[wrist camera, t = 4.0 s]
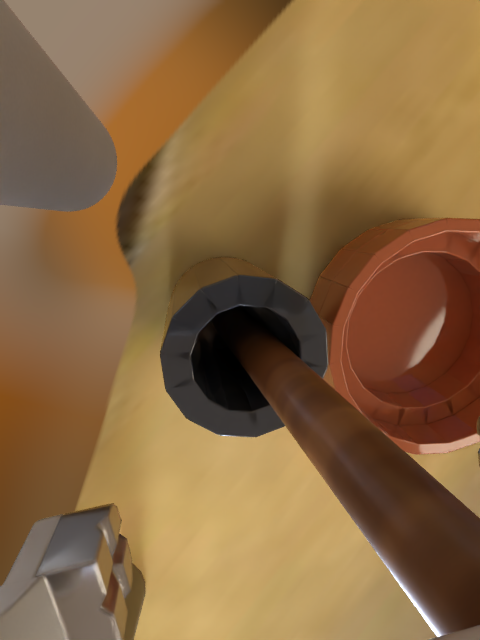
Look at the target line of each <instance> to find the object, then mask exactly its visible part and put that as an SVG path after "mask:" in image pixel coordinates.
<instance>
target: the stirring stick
mask: <svg viewBox="0 0 480 640" xmlns="http://www.w3.org/2000/svg"><path fill="white" fill-rule="evenodd" d="M212 322H213V325H214V327H215V329H216V330H217V331H218V333H219V334H220V336H221V337H222V338H223V340H224V341H225V343H226V344H227V345H228V347H229V348H230V350H231V351H232V352H233V354H234V355H235V356H236V358H237V359H238V361H239V362H240V363H241V365H242V366H243V368H244V369H245V370H246V372H247V373H248V375H249V376H250V377H251V379H252V380H253V381H254V383H255V384H256V386H257V387H258V388H259V390H260V391H261V393H262V394H263V395H264V397H265V398H266V400H267V401H268V402H269V404H270V405H271V407H272V408H273V409H274V411H275V412H276V413H277V415H278V416H279V418H280V419H281V420H282V422H283V423H284V425H285V426H286V427H287V429H288V430H289V432H290V433H291V434H292V436H293V437H294V438H295V440H296V441H297V443H298V444H299V445H300V447H301V448H302V450H303V451H304V452H305V454H306V455H307V457H308V458H309V459H310V461H311V462H312V463H313V465H314V466H315V468H316V469H317V470H318V472H319V473H320V475H321V476H322V477H323V479H324V480H325V482H326V483H327V484H328V486H329V487H330V489H331V490H332V491H333V493H334V494H335V495H336V497H337V498H338V500H339V501H340V502H341V504H342V505H343V507H344V508H345V509H346V511H347V512H348V514H349V515H350V516H351V518H352V519H353V520H354V522H355V523H356V525H357V526H358V527H359V529H360V530H361V532H362V533H363V534H364V536H365V537H366V539H367V540H368V541H369V543H370V544H371V545H372V547H373V548H374V550H375V551H376V552H377V554H378V555H379V557H380V558H381V559H382V561H383V562H384V564H385V565H386V566H387V568H388V569H389V571H390V572H391V573H392V575H393V576H394V577H395V579H396V580H397V582H398V583H399V584H400V586H401V587H402V589H403V590H404V591H405V593H406V594H407V596H408V597H409V598H410V600H411V601H412V602H413V604H414V605H415V607H416V608H417V609H418V611H419V612H420V614H421V615H422V616H423V618H424V619H425V621H426V622H427V623H428V625H429V626H430V628H431V629H432V630H433V632H434V633H435V634H436V636H437V637H439V636H443V635H446V634H450V633H453V632H457V631H460V630H464V629H467V628H471V627H474V626H477V625H480V518H479V517H478V516H476V515H475V514H474V513H473V512H472V511H471V510H470V509H469V508H467V507H466V506H465V505H464V504H463V503H462V502H461V501H460V500H458V499H457V498H456V497H455V496H454V495H453V494H452V493H451V492H449V491H448V490H447V489H446V488H445V487H444V486H443V485H442V484H440V483H439V482H438V481H437V480H436V479H435V478H434V477H433V476H431V475H430V474H429V473H428V472H427V471H426V470H425V469H424V468H422V467H421V466H420V465H419V464H418V463H417V462H416V461H415V460H413V459H412V458H411V457H410V456H409V455H408V454H407V453H406V452H404V451H403V450H402V449H401V448H400V447H399V446H398V445H397V444H395V443H394V442H393V441H392V440H391V439H390V438H389V437H388V436H386V435H385V434H384V433H383V432H382V431H381V430H380V429H379V428H377V427H376V426H375V425H374V424H373V423H372V422H371V421H370V420H368V419H367V418H366V417H365V416H364V415H363V414H362V413H361V412H359V411H358V410H357V409H356V408H355V407H354V406H353V405H352V404H350V403H349V402H348V401H347V400H346V399H345V398H344V397H343V396H341V395H340V394H339V393H338V392H337V391H336V390H335V389H334V388H332V387H331V386H330V385H329V384H328V383H327V382H326V381H325V380H323V379H322V378H321V377H320V376H319V375H318V374H317V373H316V372H314V371H313V370H312V369H311V368H310V367H309V366H308V365H307V364H305V363H304V362H303V361H302V360H301V359H300V358H299V357H298V356H296V355H295V354H294V353H293V352H292V351H291V350H290V349H289V348H287V347H286V346H285V345H284V344H283V343H282V342H281V341H280V340H278V339H277V338H276V337H275V336H274V335H273V334H272V333H271V332H269V331H268V330H267V329H266V328H265V327H264V326H263V325H262V324H260V323H259V322H258V321H257V320H256V319H255V318H254V317H253V316H251V315H250V314H249V313H248V312H247V311H246V310H245V309H244V308H243V307H241V306H238V307H235V308H232V309H230V310H227V311H224V312H221V313H219V314H217V315H216V316H215V317H214V318H213V319H212Z"/></svg>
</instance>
